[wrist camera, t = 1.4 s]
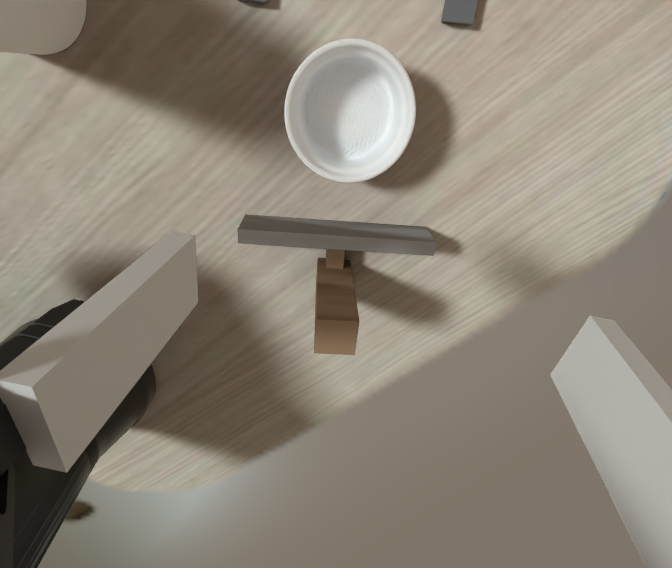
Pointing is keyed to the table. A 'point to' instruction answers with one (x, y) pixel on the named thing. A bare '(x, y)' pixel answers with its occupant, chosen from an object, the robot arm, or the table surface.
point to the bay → (445, 11)
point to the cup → (40, 25)
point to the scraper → (335, 264)
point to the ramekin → (350, 110)
